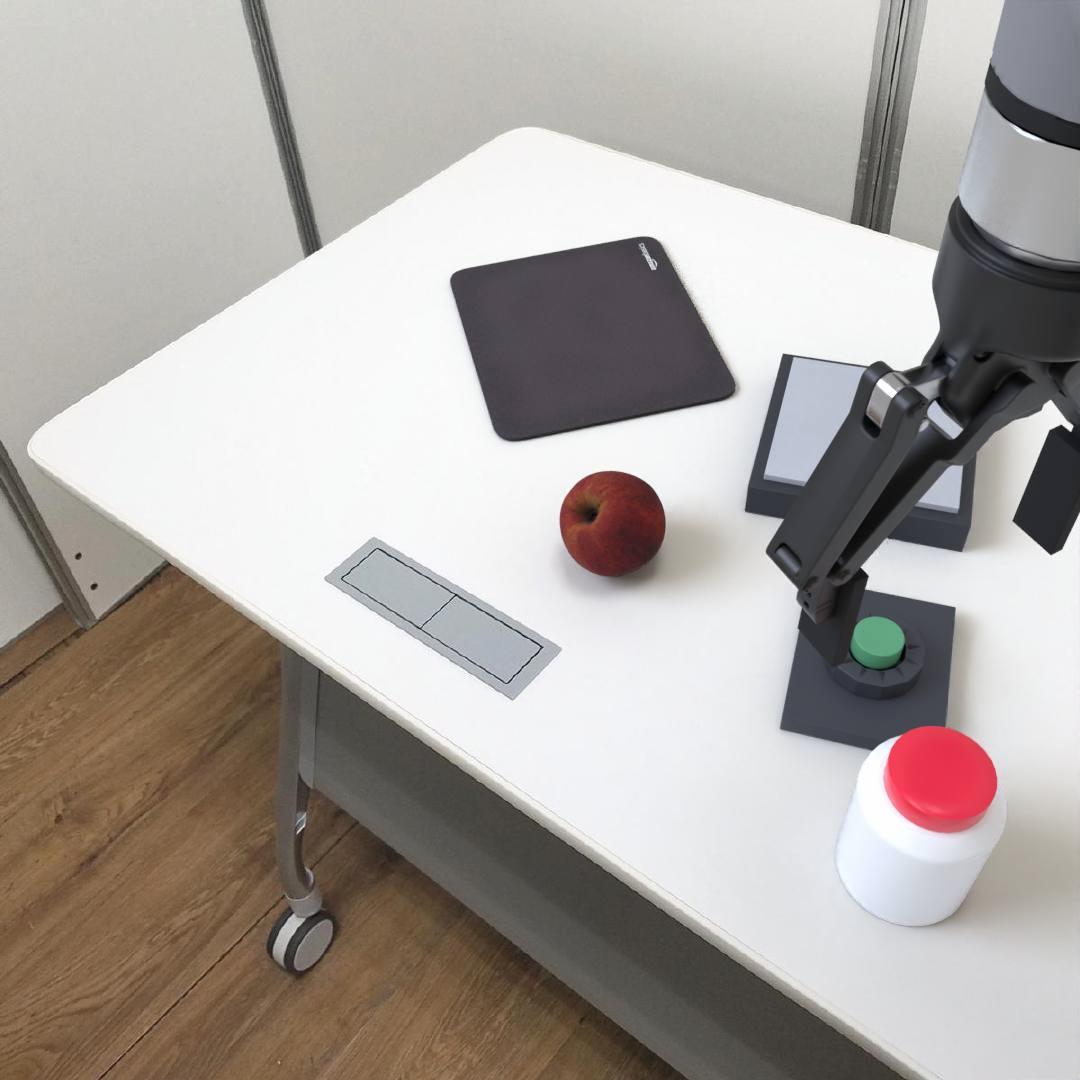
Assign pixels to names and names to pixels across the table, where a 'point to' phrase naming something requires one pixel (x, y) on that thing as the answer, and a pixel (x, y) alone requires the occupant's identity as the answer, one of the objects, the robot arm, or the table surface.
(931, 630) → the button base
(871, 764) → the pill bottle
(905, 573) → the table surface
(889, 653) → the green button
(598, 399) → the mouse pad
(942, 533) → the scale
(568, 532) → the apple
